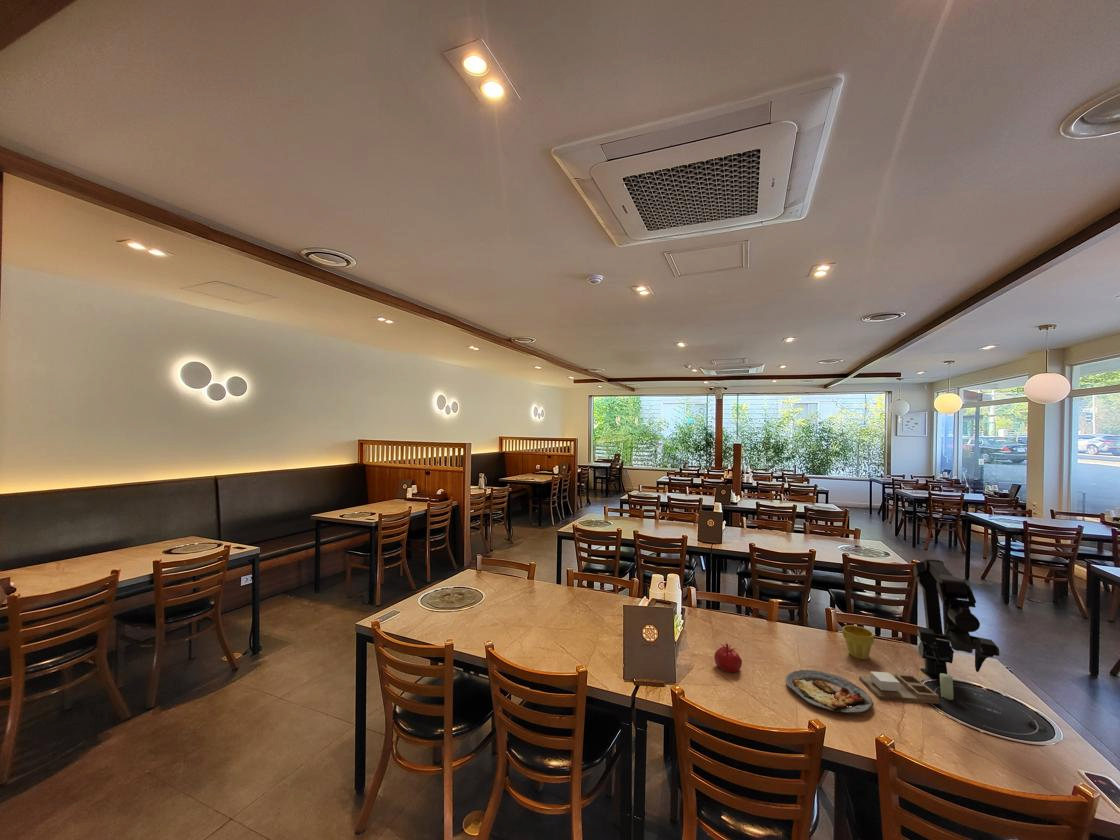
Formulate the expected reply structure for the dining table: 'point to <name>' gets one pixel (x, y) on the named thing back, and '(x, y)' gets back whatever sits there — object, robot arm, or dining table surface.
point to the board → (904, 690)
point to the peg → (946, 686)
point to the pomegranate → (728, 659)
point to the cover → (885, 681)
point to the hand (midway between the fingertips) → (957, 667)
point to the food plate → (829, 691)
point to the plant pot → (858, 641)
